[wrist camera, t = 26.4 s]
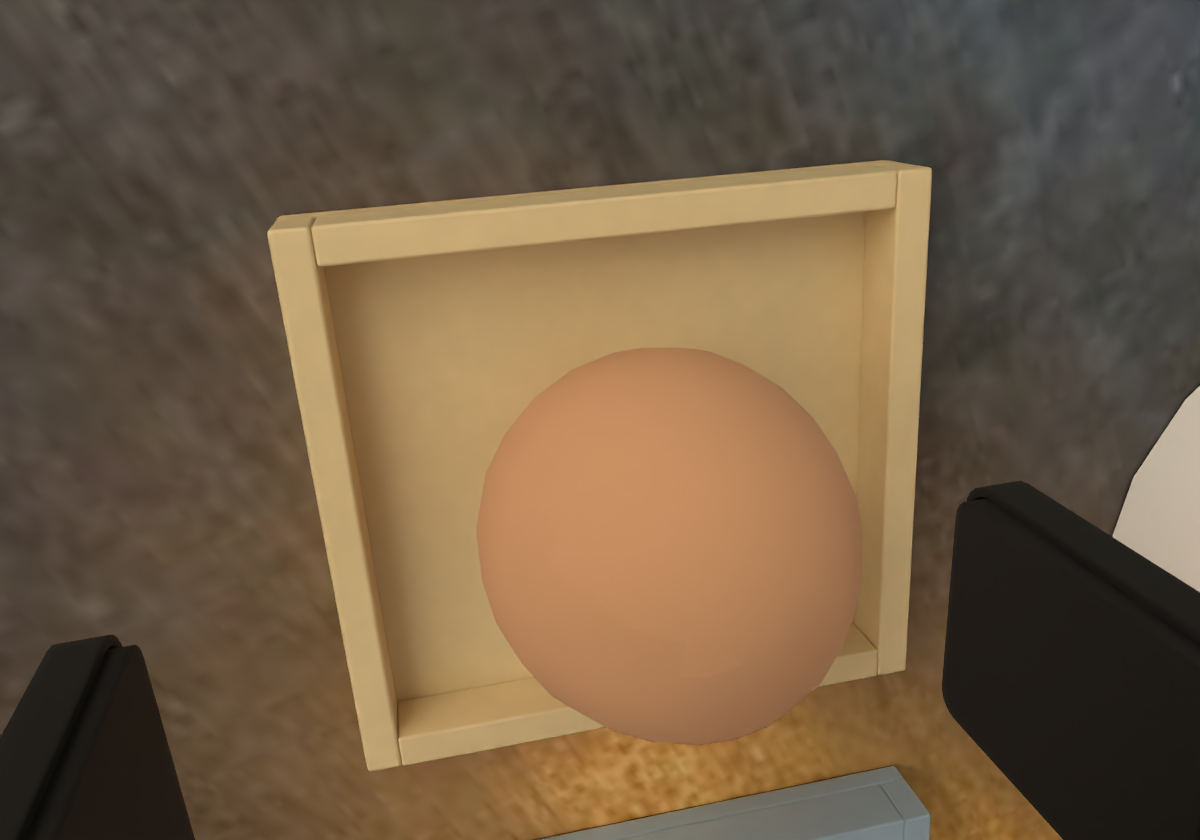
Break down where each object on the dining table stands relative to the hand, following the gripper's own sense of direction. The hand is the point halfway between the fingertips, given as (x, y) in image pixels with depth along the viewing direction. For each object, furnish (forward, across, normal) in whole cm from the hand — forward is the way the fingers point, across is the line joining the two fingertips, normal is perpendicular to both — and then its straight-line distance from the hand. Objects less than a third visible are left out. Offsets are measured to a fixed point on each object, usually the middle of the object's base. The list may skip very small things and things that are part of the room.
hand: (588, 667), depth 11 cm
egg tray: (+12, -3, +3) cm, 12 cm away
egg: (+11, -3, +3) cm, 12 cm away
